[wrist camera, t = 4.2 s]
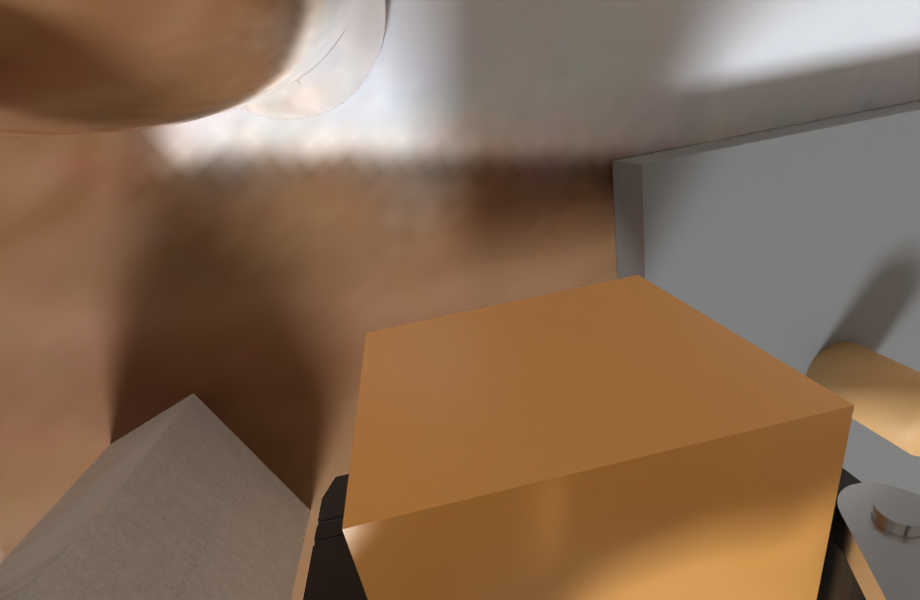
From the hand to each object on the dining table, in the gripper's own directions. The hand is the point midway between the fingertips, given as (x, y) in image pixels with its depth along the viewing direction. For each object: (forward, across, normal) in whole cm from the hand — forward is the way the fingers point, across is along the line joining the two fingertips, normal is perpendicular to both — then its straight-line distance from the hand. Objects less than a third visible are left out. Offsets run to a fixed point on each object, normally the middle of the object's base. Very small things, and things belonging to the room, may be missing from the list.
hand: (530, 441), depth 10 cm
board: (+7, -12, +4) cm, 15 cm away
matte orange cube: (+1, 0, 0) cm, 1 cm away
